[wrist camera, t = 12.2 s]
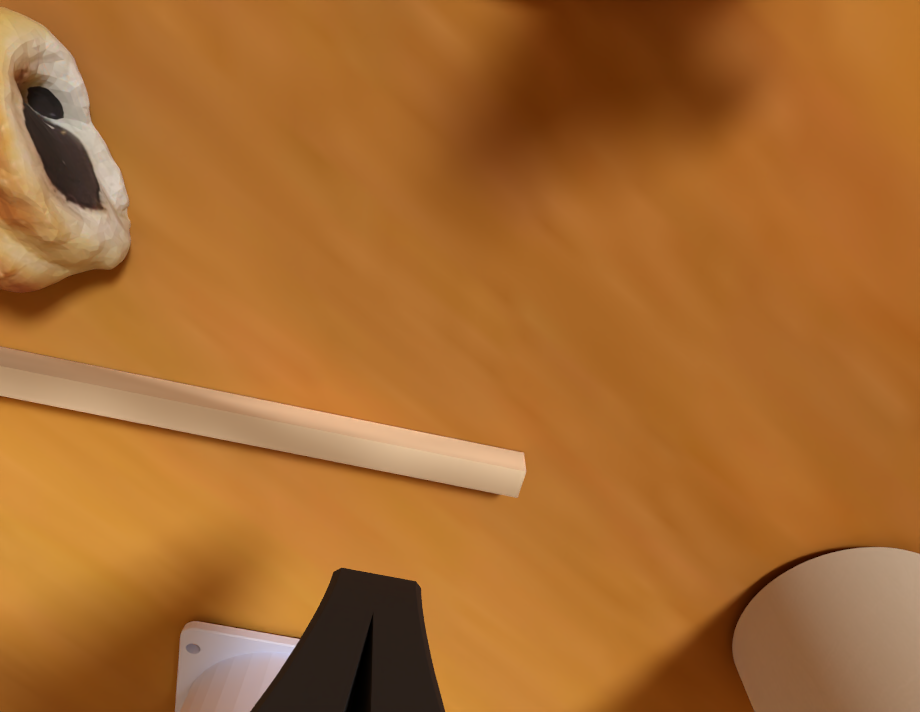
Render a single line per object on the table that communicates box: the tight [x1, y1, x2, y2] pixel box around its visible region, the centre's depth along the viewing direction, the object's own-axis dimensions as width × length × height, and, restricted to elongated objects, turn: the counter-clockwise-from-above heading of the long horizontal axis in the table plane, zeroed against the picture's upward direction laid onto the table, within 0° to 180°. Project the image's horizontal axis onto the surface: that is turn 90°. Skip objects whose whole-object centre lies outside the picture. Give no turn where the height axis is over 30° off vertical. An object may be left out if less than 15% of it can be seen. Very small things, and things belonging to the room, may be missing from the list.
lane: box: [0, 347, 526, 498], centre depth 17 cm, size 17×23×2 cm
